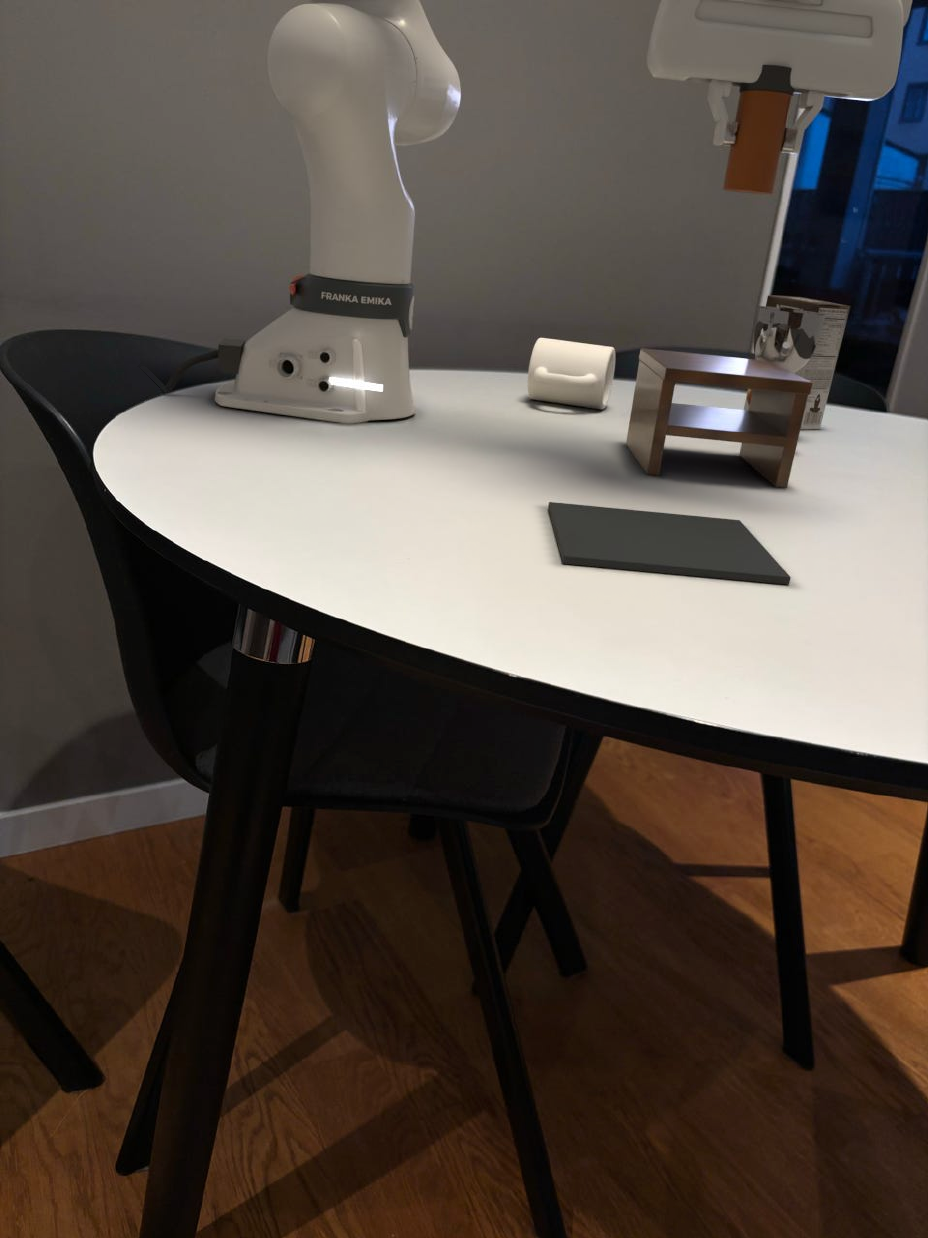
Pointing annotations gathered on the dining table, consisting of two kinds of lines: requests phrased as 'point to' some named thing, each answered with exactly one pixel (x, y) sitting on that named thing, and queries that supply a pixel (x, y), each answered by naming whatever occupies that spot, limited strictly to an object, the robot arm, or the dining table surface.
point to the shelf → (718, 409)
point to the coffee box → (816, 353)
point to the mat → (662, 543)
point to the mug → (571, 373)
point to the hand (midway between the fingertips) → (755, 148)
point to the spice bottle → (759, 131)
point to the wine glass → (786, 336)
